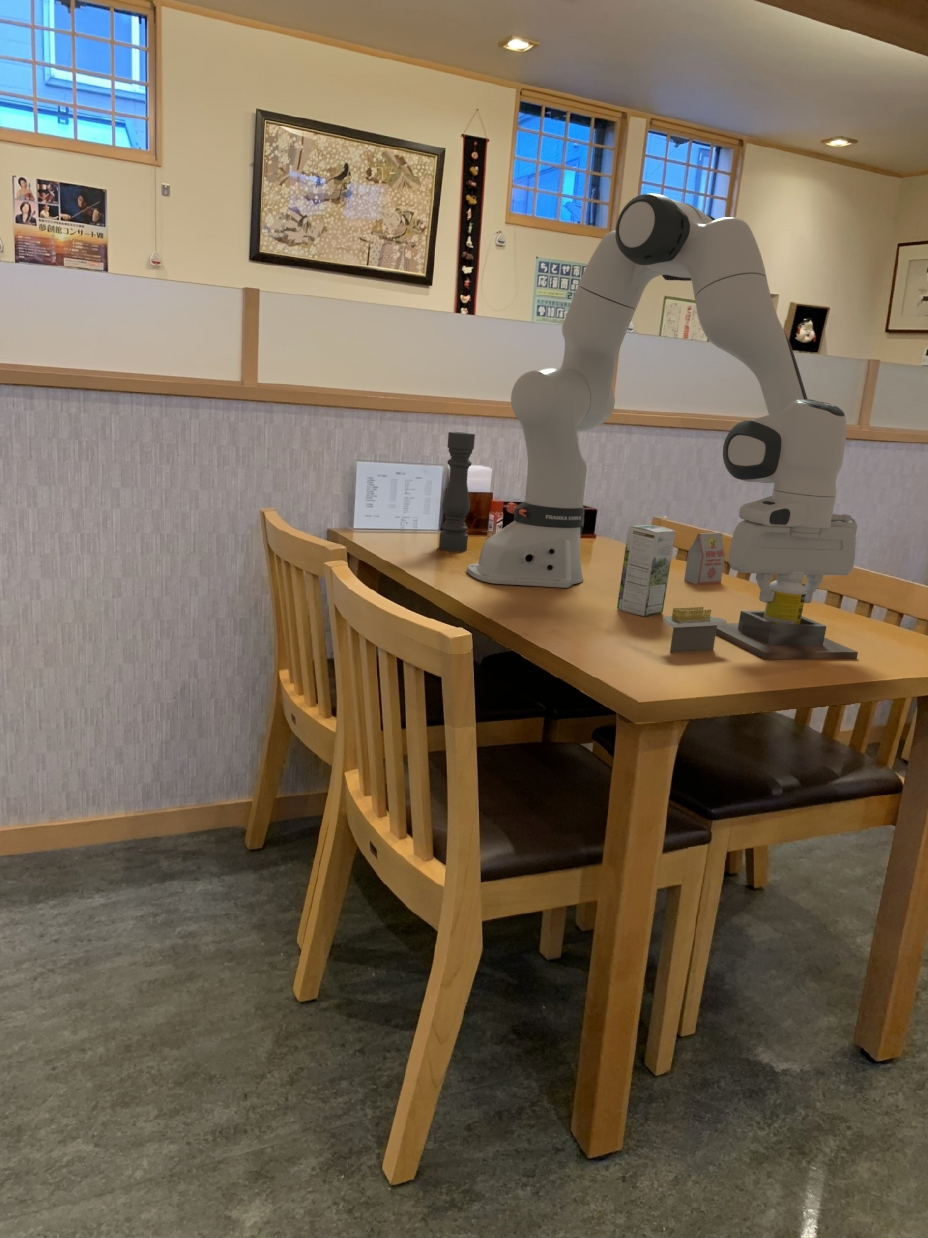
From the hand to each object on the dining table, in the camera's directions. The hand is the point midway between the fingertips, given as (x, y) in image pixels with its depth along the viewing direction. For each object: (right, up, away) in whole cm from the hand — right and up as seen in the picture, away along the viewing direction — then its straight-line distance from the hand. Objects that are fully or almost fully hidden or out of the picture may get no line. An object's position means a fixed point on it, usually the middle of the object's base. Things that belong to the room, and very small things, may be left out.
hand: (784, 602), depth 137 cm
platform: (-16, -8, -6) cm, 19 cm away
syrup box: (-19, -2, +15) cm, 24 cm away
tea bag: (0, +5, +46) cm, 46 cm away
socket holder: (0, -6, +1) cm, 7 cm away
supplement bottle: (0, -5, +1) cm, 5 cm away
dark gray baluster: (-52, +13, +60) cm, 80 cm away
